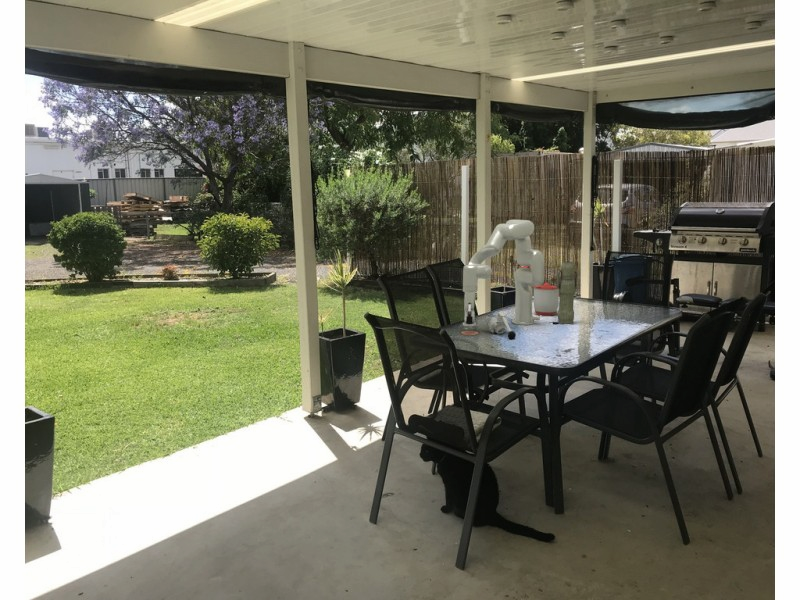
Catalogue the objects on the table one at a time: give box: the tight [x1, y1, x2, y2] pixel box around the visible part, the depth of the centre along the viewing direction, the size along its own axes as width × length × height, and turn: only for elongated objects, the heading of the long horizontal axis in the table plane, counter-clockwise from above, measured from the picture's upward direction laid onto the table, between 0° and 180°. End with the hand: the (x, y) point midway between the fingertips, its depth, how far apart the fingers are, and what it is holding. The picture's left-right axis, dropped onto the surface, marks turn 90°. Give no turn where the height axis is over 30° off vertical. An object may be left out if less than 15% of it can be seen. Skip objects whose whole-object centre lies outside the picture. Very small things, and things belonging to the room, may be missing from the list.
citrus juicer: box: [532, 281, 560, 317], centre depth 392 cm, size 16×17×20 cm
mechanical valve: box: [487, 310, 517, 340], centre depth 336 cm, size 10×18×15 cm
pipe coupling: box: [462, 310, 477, 328], centre depth 340 cm, size 7×7×8 cm
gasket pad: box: [460, 330, 479, 336], centre depth 341 cm, size 9×9×1 cm
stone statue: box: [556, 261, 579, 325], centre depth 364 cm, size 9×12×35 cm
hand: (469, 322), depth 340 cm, fingers closed on pipe coupling, 5 cm apart
